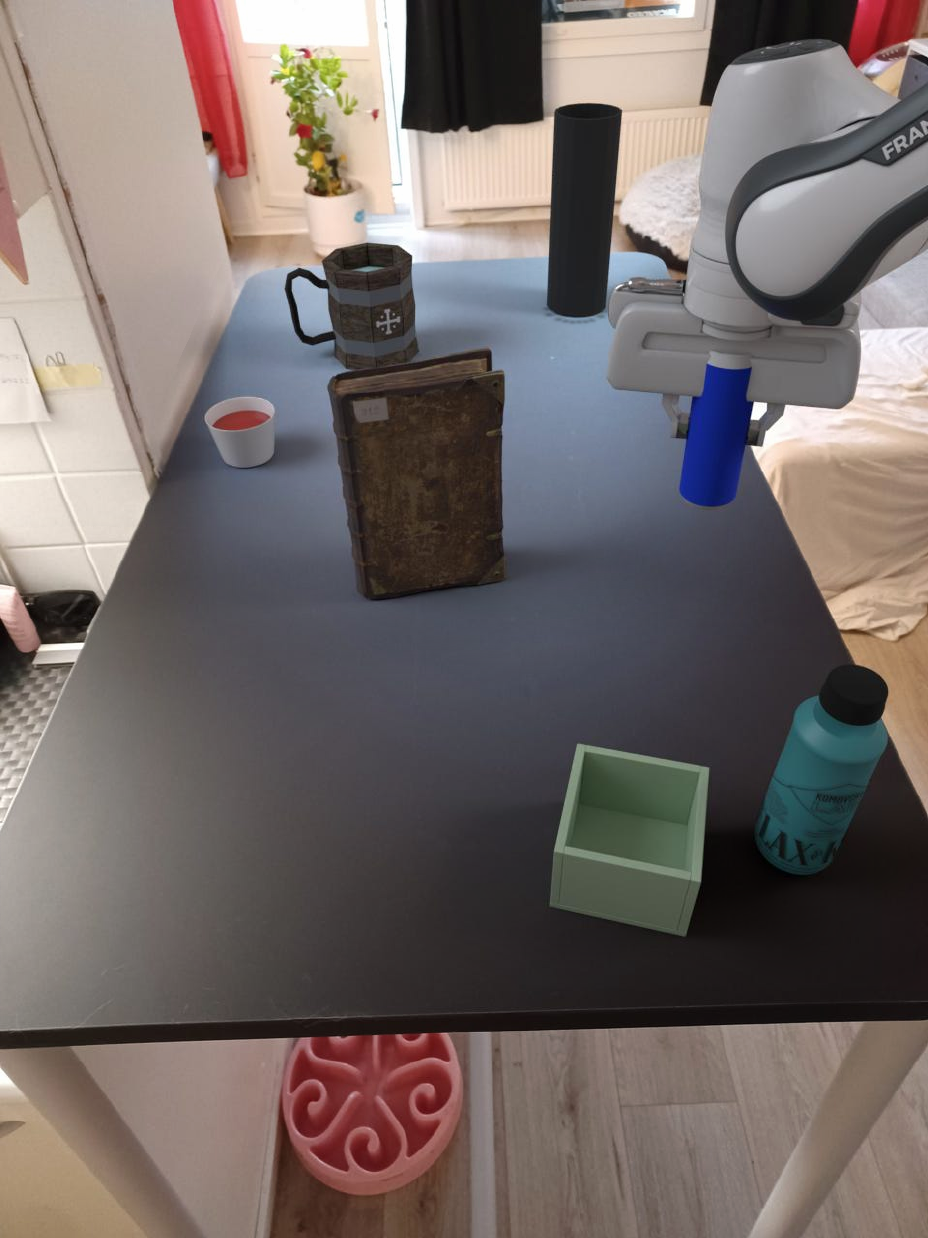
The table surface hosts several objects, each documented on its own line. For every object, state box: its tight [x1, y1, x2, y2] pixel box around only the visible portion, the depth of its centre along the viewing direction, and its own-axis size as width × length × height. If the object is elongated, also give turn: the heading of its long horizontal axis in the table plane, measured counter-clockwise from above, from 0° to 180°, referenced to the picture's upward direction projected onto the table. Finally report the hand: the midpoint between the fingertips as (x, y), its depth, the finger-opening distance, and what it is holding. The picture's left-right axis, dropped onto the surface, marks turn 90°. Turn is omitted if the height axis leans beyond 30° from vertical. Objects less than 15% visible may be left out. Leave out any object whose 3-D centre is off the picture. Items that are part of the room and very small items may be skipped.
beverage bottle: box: [752, 663, 889, 876], centre depth 65 cm, size 6×7×20 cm
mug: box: [284, 242, 420, 371], centre depth 137 cm, size 20×14×15 cm
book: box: [326, 346, 507, 600], centre depth 91 cm, size 17×7×25 cm, turn 99°
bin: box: [549, 743, 710, 938], centre depth 69 cm, size 10×10×8 cm
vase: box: [546, 102, 623, 318], centre depth 144 cm, size 10×10×30 cm
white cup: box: [204, 396, 276, 469], centre depth 118 cm, size 9×9×6 cm
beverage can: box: [678, 351, 755, 511], centre depth 78 cm, size 5×5×15 cm
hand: (716, 439), depth 79 cm, fingers closed on beverage can, 5 cm apart
